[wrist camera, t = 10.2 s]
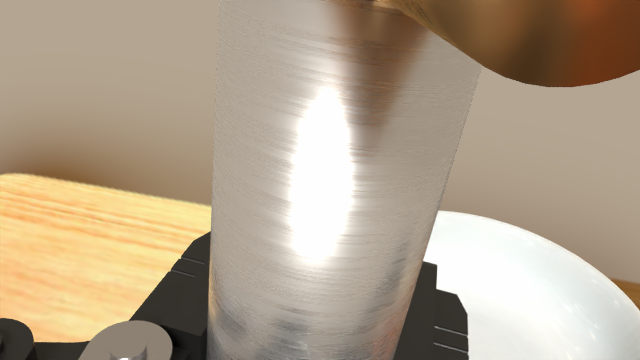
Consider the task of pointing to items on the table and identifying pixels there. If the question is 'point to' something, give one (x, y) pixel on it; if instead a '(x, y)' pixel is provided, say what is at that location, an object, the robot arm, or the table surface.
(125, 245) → the table surface
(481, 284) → the serving bowl
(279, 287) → the cylinder
